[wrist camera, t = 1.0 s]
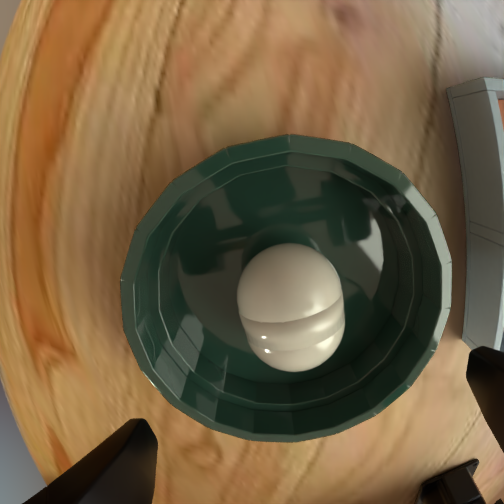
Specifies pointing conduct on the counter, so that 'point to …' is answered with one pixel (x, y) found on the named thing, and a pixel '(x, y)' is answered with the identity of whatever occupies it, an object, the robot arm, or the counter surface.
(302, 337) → the egg
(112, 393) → the counter surface
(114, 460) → the robot arm
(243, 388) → the bowl
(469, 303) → the divided tray
